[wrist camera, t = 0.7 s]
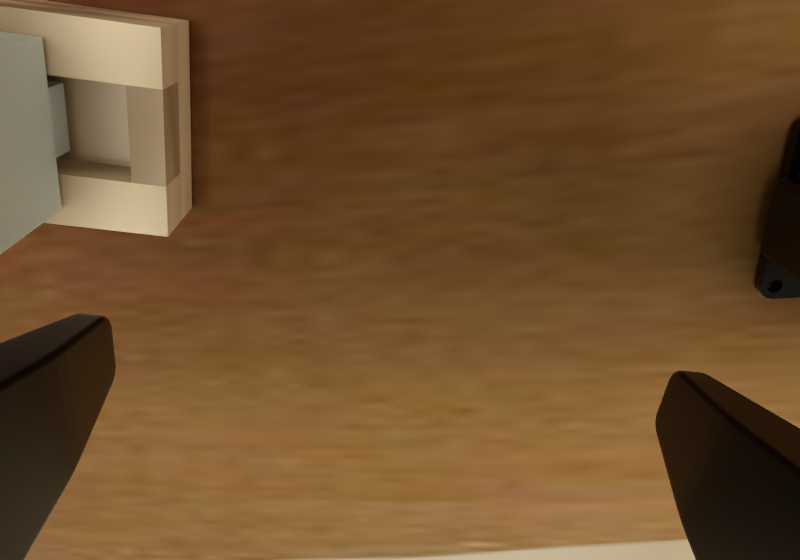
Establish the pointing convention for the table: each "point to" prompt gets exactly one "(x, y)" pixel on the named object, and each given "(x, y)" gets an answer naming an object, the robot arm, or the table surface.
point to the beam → (117, 112)
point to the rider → (28, 138)
